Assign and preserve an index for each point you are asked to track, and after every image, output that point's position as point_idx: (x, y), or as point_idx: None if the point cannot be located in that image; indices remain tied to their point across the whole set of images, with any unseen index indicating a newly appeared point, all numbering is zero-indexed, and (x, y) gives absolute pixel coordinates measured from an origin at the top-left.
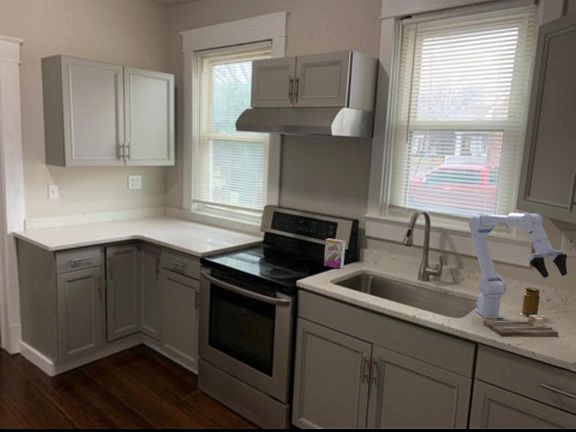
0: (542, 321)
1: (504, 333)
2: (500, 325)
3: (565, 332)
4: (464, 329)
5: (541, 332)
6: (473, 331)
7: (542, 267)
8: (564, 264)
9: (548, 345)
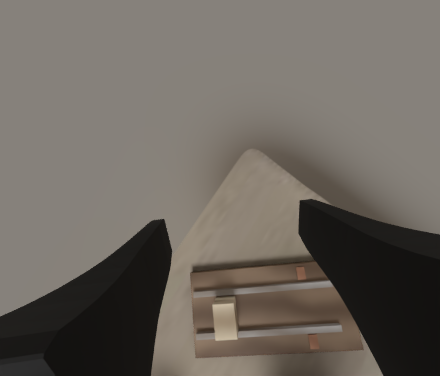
0: (215, 302)
1: None
2: (325, 310)
3: None
4: None
5: (233, 269)
6: None
7: (376, 225)
8: (122, 257)
9: (247, 215)
